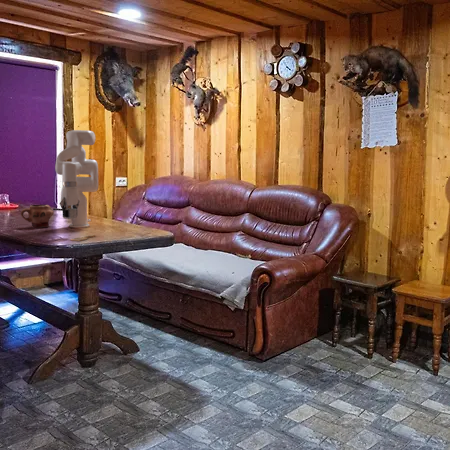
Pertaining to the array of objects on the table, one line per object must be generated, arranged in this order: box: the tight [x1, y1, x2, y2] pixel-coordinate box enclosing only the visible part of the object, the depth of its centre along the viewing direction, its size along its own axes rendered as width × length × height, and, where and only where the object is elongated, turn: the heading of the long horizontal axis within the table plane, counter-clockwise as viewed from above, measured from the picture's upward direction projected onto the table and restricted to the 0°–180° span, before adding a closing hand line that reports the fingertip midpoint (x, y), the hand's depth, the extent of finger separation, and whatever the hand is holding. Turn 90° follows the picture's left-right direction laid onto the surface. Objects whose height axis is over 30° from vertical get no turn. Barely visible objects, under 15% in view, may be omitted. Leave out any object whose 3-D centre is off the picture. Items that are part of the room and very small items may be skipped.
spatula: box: [69, 234, 96, 242], centre depth 288 cm, size 18×6×1 cm, turn 160°
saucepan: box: [52, 207, 77, 220], centre depth 292 cm, size 15×8×5 cm, turn 70°
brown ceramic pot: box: [20, 204, 55, 229], centre depth 325 cm, size 20×12×14 cm, turn 133°
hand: (70, 216), depth 291 cm, fingers closed on saucepan, 7 cm apart
